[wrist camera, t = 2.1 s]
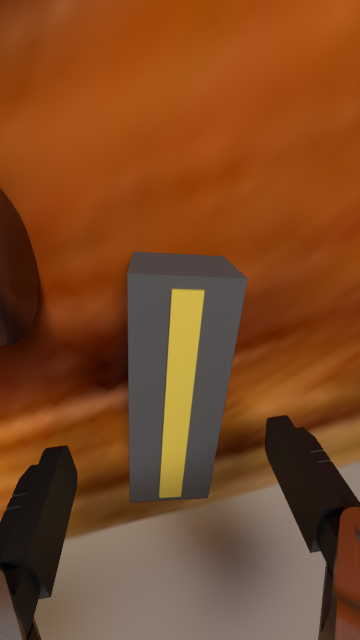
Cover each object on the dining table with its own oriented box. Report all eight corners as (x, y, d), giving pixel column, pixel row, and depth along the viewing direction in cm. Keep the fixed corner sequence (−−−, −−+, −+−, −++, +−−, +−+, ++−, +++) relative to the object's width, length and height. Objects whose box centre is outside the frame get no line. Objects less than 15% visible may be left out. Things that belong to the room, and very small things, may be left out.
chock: (133, 250, 13) (127, 274, 10) (222, 255, 14) (249, 279, 10) (133, 442, 19) (129, 505, 15) (197, 440, 19) (208, 500, 16)
